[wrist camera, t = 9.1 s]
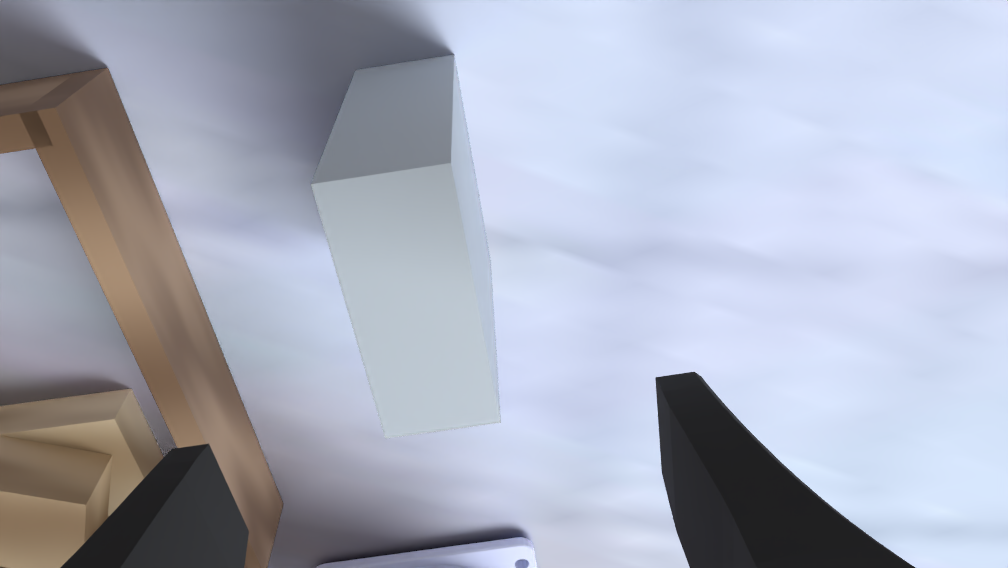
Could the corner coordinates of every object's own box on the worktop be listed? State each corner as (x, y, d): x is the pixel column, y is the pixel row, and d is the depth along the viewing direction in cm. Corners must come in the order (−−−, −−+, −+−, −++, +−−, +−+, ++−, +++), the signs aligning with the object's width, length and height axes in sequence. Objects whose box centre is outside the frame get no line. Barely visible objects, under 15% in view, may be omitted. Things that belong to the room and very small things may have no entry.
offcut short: (107, 526, 26) (82, 578, 24) (-63, 500, 25) (-101, 551, 23) (112, 455, 24) (86, 504, 23) (-69, 423, 23) (-110, 473, 22)
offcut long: (178, 464, 27) (159, 509, 26) (-23, 491, 28) (-55, 537, 26) (137, 376, 25) (114, 418, 24) (-79, 406, 26) (-117, 449, 24)
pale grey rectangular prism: (490, 261, 23) (500, 422, 17) (405, 273, 23) (385, 439, 17) (454, 54, 20) (451, 163, 14) (355, 69, 20) (310, 183, 14)
